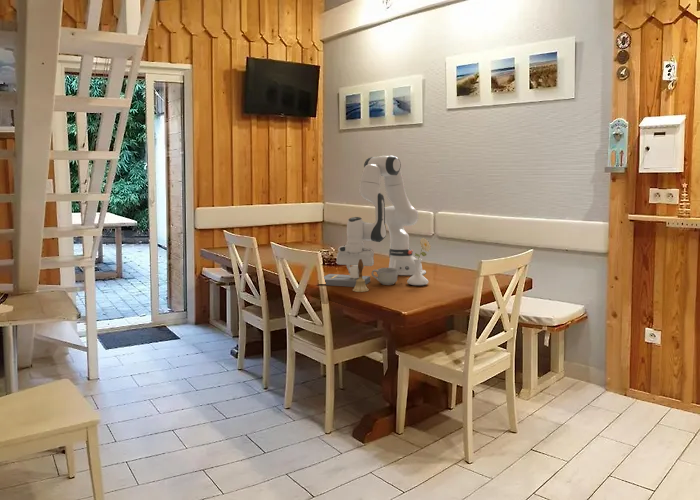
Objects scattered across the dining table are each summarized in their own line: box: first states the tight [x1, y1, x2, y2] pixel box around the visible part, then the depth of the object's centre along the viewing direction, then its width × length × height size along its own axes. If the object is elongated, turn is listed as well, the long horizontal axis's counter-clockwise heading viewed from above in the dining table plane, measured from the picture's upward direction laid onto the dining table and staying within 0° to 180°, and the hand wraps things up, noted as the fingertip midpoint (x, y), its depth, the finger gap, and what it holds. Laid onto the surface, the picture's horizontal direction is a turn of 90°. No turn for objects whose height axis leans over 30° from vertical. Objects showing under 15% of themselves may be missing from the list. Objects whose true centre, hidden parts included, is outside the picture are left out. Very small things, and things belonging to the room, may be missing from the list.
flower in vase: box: [406, 237, 432, 287], centre depth 323 cm, size 13×11×25 cm
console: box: [323, 273, 371, 288], centre depth 330 cm, size 24×16×3 cm, turn 71°
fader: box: [349, 265, 359, 278], centre depth 328 cm, size 4×5×6 cm
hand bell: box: [352, 259, 370, 293], centre depth 311 cm, size 8×8×16 cm
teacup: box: [371, 267, 398, 286], centre depth 328 cm, size 14×11×8 cm
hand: (355, 273), depth 328 cm, fingers closed on fader, 4 cm apart
